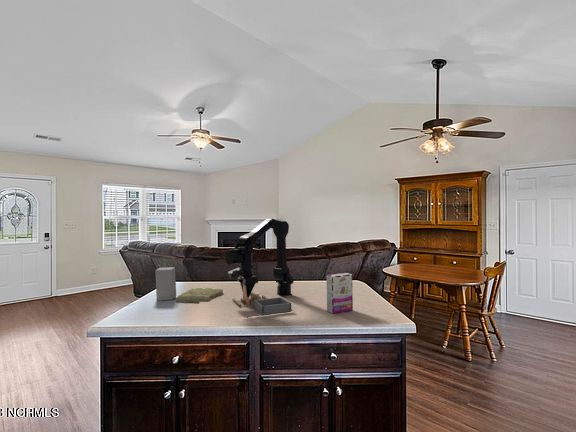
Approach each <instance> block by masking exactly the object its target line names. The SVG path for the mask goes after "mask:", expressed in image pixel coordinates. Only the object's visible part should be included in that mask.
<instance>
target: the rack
mask: <svg viewBox="0 0 576 432" xmlns="http://www.w3.org/2000/svg"><path fill="white" fill-rule="evenodd" d="M261 299H269V298H268V297H267V296H265V295H261ZM232 302H233V303H234V304H235V305H236V306H237V307H238V308H247V307H254V304H253V303H252V302H251V300H250V298H249V304H248V305H246V301H245V300H244V299H243V297H242V298H240V299H239V300H237V299H235V298H232Z"/></svg>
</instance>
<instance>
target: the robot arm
mask: <svg viewBox="0 0 576 432" xmlns="http://www.w3.org/2000/svg"><path fill="white" fill-rule="evenodd" d="M289 228H290V225H289V223H288V221H286V220H278V219H274V218H266V219H264V221H262V222H261V223H260V224H259V225H258V226H257V227H255V228H253V230H251V232H249V233H245V234H243V235H241V236H240V237H239V238H238V239H237V242H236V244H235V245H234V247H233V249H228V252H227V253H226V255H225V258H224V259H225V263H226V264H227V265H228V266H229V265H237V264H238V265H237V267H236V268H234V269H232V270H231V269H230V270H229V271H227V275H228V277H229V279H230V280H232V281H233V280H235V279H236V280H237V282H239V284H240V287H241V291H242V293H243V284H244V285H245V287H246V294H247V297H249V298H250V297H251V296H250V294H251V292H253V290H254V288H255V285H256V284H259V277H257V276H256V275H254V273H253V268H254V264H253V254H254V253H256V250H255V249H254V247H255V245H256V244H257V242H258V240H259V238H261V237H263V235H264V234H265V233H267V232H268V231H269V230H271V229H272V230H273V234H274V237H275V239H276V265H275V267H273V269H272V270H273V274H272V275H273V279H274V281H275V283H277V286H276V288H277V291H276V294H277V295H279V297H284V296H285V297H286V296H293V293H292V284H294V278H293V276H292V275H291V270H290V268H289V267H288V264H287V243H286V242H287V239H286V238H287V236H288V233H289ZM243 282H244V283H243Z"/></svg>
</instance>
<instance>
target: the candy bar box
mask: <svg viewBox="0 0 576 432" xmlns="http://www.w3.org/2000/svg"><path fill="white" fill-rule="evenodd" d="M353 297H354V295H353V274H352V273H348V272H343V273H342V272H341V273H334V274H332V273H331V274H327V275H326V312H328V313H330V314H332V315H334V314H339V313H341V314H342V313H347V312H351V311H353V310H354V309H353V308H354V306H353V302H354V300H353Z"/></svg>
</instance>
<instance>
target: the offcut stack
mask: <svg viewBox="0 0 576 432" xmlns="http://www.w3.org/2000/svg"><path fill="white" fill-rule="evenodd" d="M261 298H262V296H260V293H259V292H257V291H252V292H251V294H250V296H249V299H250V300H251V302H252V303H253V304H254V300H260V299H261Z"/></svg>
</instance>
